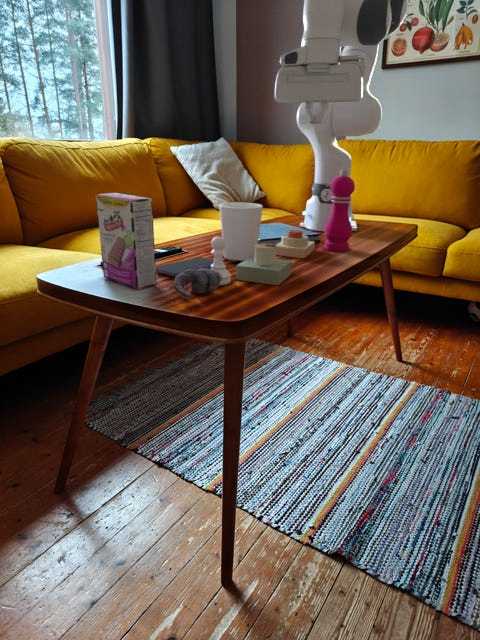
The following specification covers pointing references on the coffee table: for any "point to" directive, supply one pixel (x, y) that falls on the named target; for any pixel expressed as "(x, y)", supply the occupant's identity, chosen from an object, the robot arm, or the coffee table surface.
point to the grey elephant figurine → (197, 281)
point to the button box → (295, 247)
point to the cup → (240, 229)
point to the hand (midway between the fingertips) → (315, 123)
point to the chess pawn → (220, 259)
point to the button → (295, 234)
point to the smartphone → (184, 266)
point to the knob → (265, 254)
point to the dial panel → (264, 271)
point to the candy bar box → (127, 239)
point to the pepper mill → (339, 214)
